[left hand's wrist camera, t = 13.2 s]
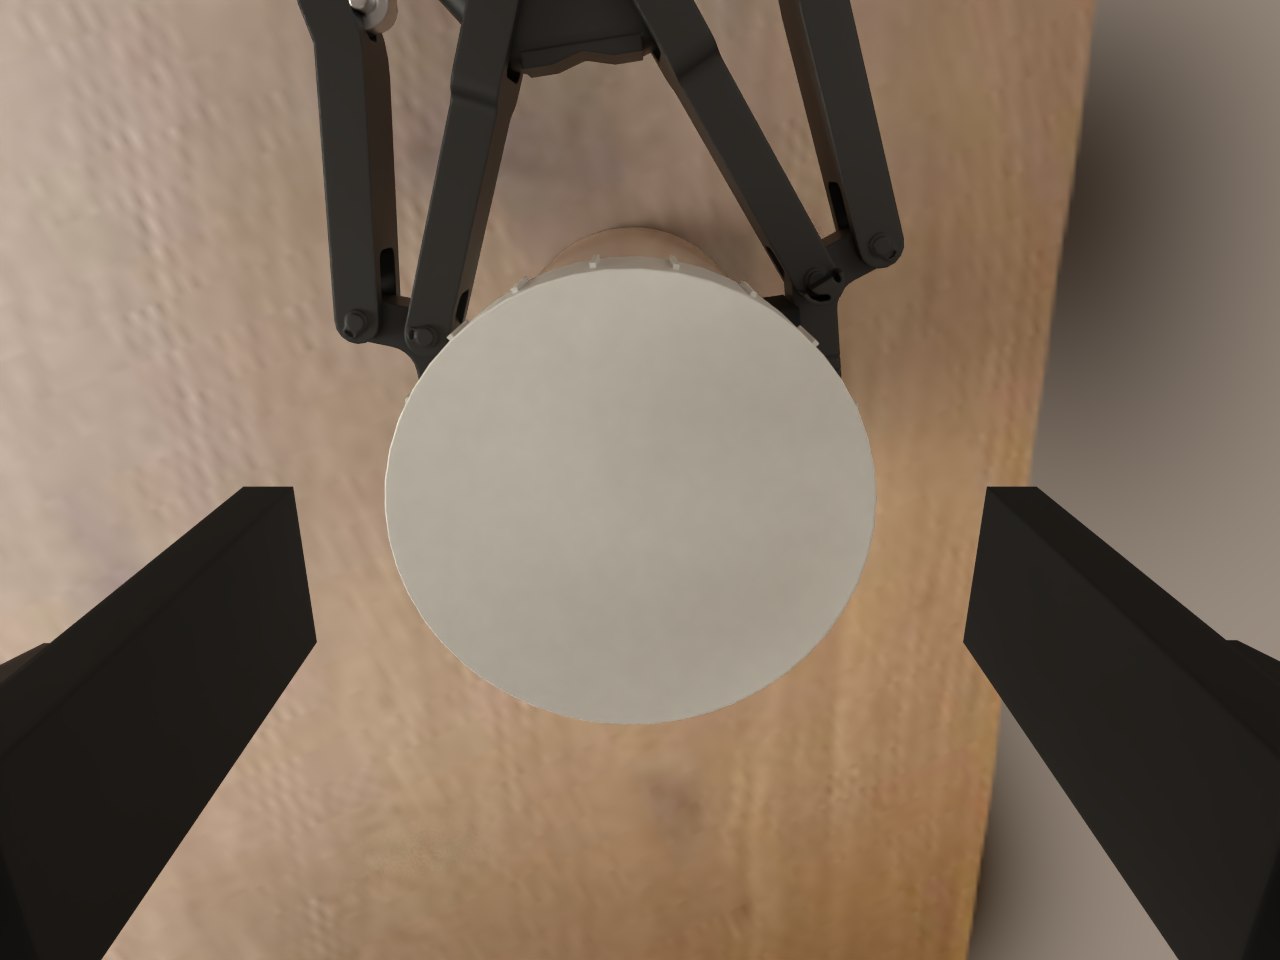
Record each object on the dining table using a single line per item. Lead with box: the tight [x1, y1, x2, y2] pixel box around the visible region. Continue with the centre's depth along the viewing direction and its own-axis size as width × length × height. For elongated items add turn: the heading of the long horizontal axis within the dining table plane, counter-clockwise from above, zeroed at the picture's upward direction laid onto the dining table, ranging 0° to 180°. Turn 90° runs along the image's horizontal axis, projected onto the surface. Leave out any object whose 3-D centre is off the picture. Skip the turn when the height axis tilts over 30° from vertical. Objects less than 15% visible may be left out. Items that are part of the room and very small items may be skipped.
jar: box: [538, 227, 728, 278], centre depth 23 cm, size 8×8×16 cm
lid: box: [385, 254, 876, 725], centre depth 16 cm, size 9×9×2 cm
